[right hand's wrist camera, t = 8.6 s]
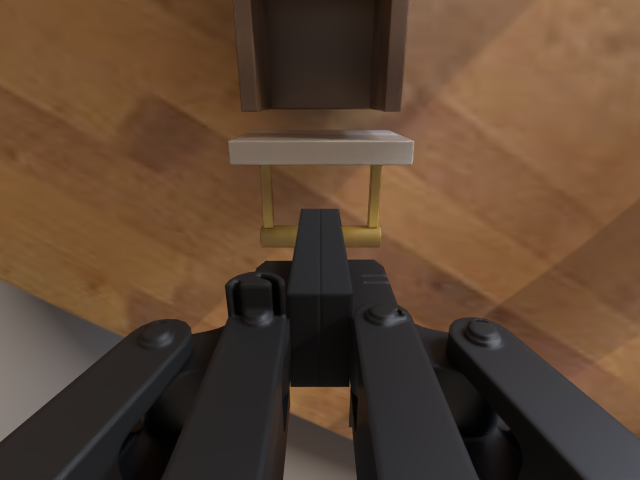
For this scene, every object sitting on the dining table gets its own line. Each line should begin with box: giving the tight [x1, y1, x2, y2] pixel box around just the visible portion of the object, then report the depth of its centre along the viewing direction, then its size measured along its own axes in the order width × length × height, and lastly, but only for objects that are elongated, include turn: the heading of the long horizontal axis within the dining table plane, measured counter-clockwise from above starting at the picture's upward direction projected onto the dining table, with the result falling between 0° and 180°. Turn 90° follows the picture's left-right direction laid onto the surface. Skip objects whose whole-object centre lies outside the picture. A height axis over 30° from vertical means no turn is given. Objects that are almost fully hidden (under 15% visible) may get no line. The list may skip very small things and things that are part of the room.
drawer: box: [228, 0, 414, 248], centre depth 19 cm, size 25×9×7 cm, turn 0°
